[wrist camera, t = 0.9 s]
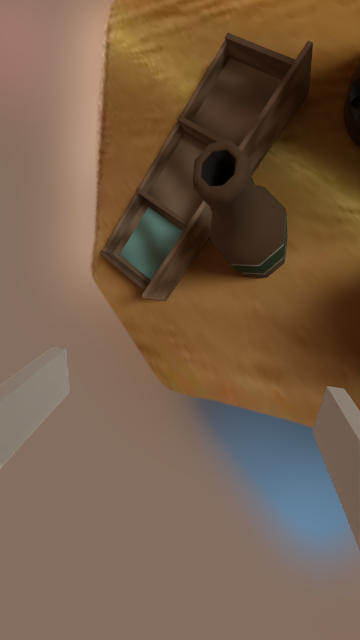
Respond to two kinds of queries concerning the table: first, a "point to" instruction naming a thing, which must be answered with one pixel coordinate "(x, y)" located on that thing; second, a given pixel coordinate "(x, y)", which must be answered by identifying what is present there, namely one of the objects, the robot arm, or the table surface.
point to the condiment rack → (188, 143)
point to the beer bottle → (240, 211)
